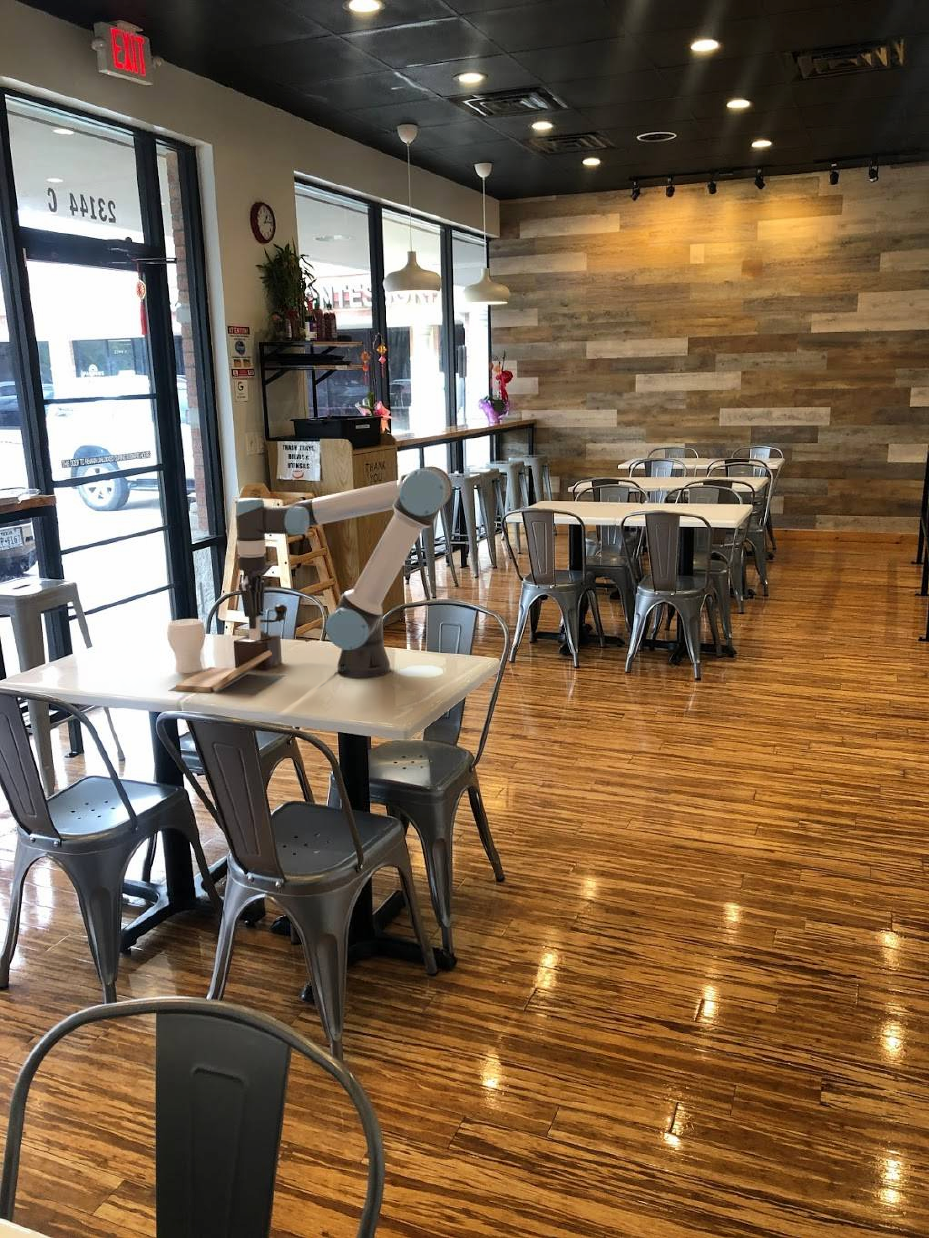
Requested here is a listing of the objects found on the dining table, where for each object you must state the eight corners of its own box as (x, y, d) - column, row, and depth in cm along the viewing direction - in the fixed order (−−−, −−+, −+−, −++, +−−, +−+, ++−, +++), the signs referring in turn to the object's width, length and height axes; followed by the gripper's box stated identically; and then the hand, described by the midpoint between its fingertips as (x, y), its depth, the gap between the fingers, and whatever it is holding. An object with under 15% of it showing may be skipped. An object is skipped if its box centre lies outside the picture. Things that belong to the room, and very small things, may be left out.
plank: (272, 654, 295) (269, 649, 295) (242, 671, 276) (238, 667, 276) (246, 672, 298) (243, 668, 298) (214, 691, 279) (211, 686, 279)
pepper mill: (268, 674, 301) (265, 613, 298) (234, 672, 304) (230, 611, 301) (292, 662, 316) (289, 603, 312) (259, 659, 319) (256, 601, 315)
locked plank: (242, 673, 299) (242, 668, 298) (210, 692, 280) (210, 686, 279) (210, 672, 301) (209, 667, 301) (176, 690, 282) (175, 685, 282)
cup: (198, 678, 299) (194, 626, 296) (163, 676, 301) (159, 625, 298) (214, 668, 309) (210, 618, 306) (180, 667, 311) (177, 618, 308)
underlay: (285, 678, 297) (285, 675, 296) (254, 698, 276) (254, 695, 276) (204, 674, 302) (203, 671, 302) (168, 694, 282) (167, 690, 282)
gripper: (249, 551, 293) (252, 633, 298) (228, 558, 281) (232, 643, 286) (274, 552, 292) (277, 635, 297) (254, 559, 279) (258, 645, 284)
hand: (255, 639), depth 291 cm, fingers closed
